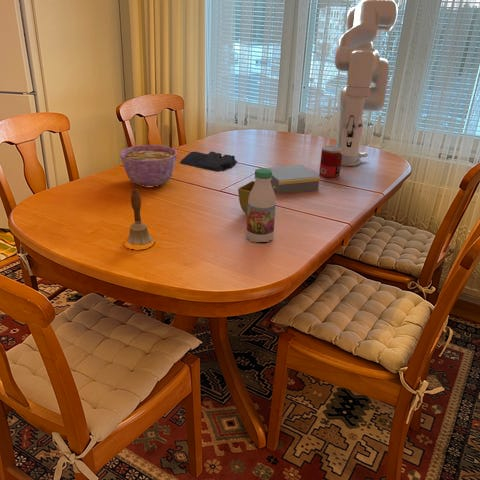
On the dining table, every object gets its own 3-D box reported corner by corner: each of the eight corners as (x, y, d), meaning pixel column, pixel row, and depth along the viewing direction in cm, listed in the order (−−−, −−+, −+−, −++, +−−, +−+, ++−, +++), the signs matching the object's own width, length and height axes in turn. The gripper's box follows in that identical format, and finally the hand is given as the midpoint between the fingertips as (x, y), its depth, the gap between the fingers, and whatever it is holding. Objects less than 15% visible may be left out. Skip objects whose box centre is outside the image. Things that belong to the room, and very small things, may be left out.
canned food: (339, 179, 176) (343, 151, 171) (318, 177, 178) (321, 150, 173) (339, 173, 183) (343, 146, 178) (319, 171, 184) (322, 144, 179)
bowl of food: (189, 184, 167) (188, 153, 162) (144, 198, 154) (142, 164, 148) (155, 171, 179) (154, 141, 174) (111, 182, 166) (108, 151, 160)
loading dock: (300, 177, 178) (301, 164, 175) (318, 190, 165) (320, 177, 163) (262, 180, 172) (263, 168, 170) (278, 194, 160) (279, 181, 158)
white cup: (360, 151, 158) (365, 123, 153) (355, 157, 153) (360, 128, 148) (342, 148, 161) (345, 120, 156) (336, 154, 156) (340, 125, 151)
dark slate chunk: (196, 155, 201) (196, 144, 199) (240, 164, 192) (241, 153, 190) (176, 164, 189) (176, 153, 186) (222, 174, 180) (222, 162, 178)
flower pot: (260, 222, 139) (262, 194, 135) (236, 215, 143) (237, 188, 139) (274, 212, 146) (276, 186, 142) (250, 206, 150) (252, 180, 146)
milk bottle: (245, 231, 133) (247, 165, 124) (271, 231, 134) (275, 165, 125) (247, 244, 126) (250, 175, 117) (275, 243, 127) (280, 175, 118)
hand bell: (153, 250, 121) (150, 194, 114) (121, 250, 121) (116, 194, 113) (156, 236, 129) (153, 183, 121) (126, 236, 128) (121, 183, 121)
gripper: (349, 87, 155) (342, 140, 164) (341, 94, 142) (334, 152, 150) (372, 89, 153) (363, 143, 161) (366, 96, 139) (357, 155, 148)
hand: (349, 147), depth 156 cm, fingers closed on white cup, 2 cm apart
